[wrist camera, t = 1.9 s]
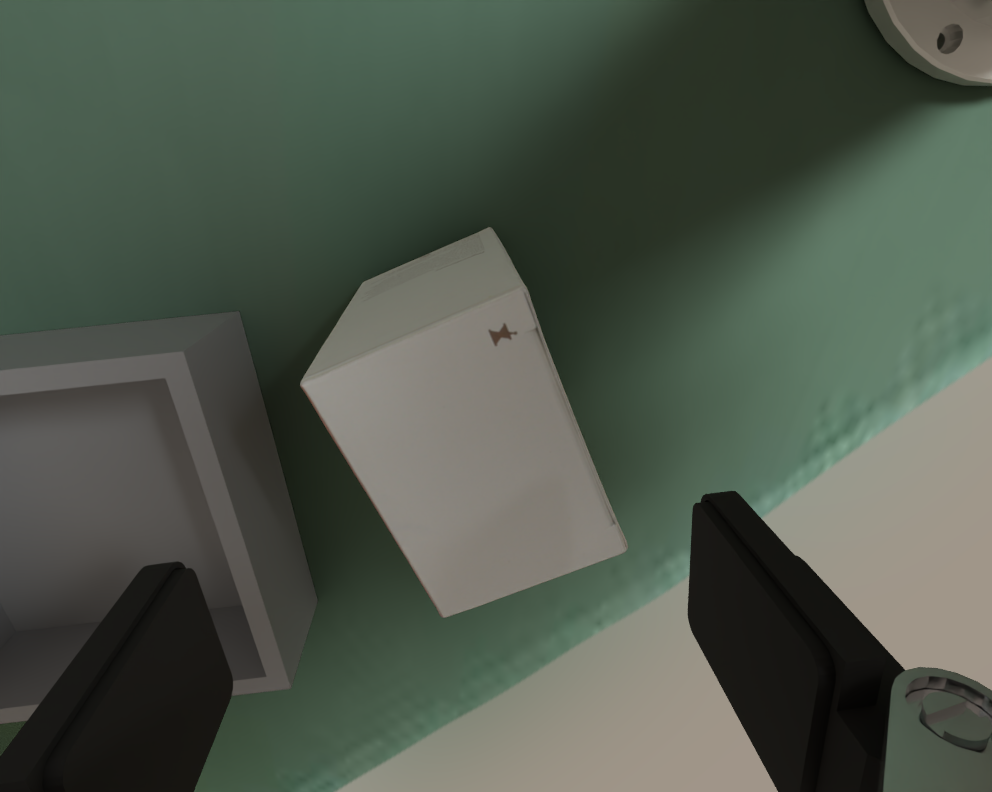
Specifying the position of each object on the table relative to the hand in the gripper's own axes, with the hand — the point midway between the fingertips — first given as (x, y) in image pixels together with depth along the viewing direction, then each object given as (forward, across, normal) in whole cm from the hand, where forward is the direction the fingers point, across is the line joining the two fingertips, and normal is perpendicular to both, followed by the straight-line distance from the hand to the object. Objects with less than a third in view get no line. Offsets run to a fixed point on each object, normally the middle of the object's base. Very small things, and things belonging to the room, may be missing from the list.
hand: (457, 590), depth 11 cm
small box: (+14, -1, -1) cm, 14 cm away
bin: (+14, +15, +4) cm, 21 cm away
